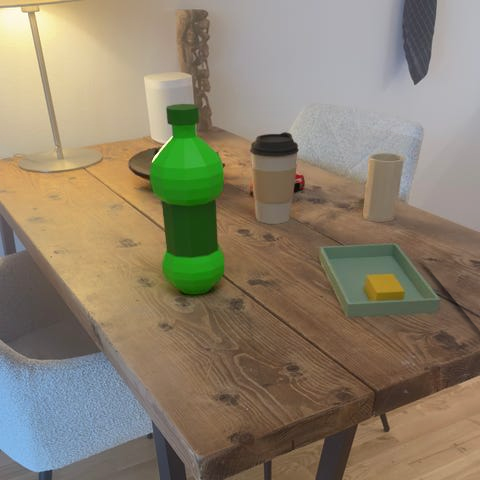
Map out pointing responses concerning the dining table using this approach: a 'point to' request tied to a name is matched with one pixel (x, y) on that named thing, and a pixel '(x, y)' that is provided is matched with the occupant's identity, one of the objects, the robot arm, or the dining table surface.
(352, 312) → the tray
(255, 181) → the coffee cup
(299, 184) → the race car
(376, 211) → the cup
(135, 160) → the oil lamp
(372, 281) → the sponge
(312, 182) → the dining table surface
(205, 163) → the plastic bottle
